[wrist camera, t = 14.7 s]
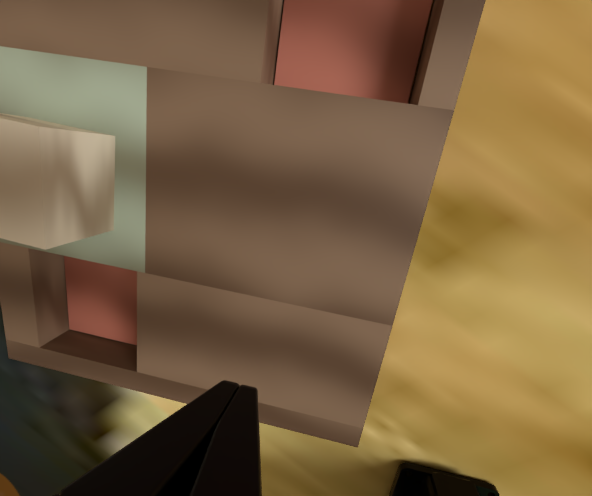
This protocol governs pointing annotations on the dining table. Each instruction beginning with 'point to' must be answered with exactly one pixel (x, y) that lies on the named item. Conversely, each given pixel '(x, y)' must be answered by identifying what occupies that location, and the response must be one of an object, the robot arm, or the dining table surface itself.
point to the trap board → (235, 191)
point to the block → (54, 182)
